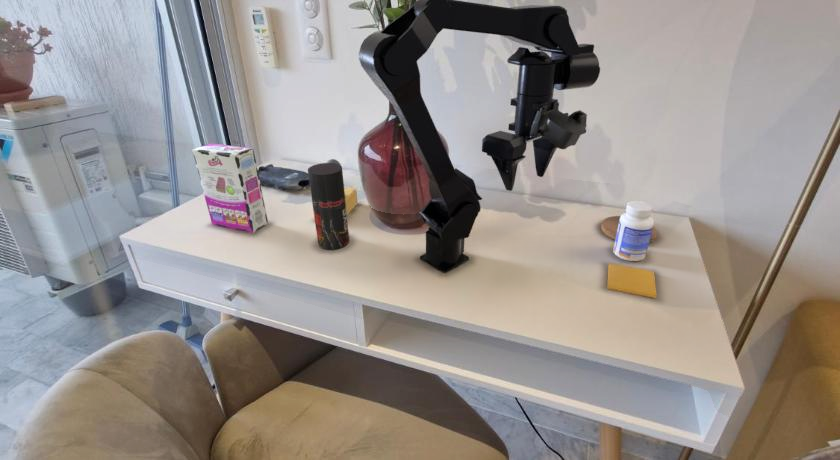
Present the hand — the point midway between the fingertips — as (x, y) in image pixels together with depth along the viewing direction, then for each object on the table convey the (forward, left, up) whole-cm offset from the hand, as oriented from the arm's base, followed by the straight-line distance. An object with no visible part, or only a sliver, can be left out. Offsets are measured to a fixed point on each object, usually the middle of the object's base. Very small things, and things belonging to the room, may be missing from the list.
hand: (525, 183), depth 78 cm
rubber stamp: (-18, +35, -12) cm, 41 cm away
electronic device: (-19, +58, -12) cm, 62 cm away
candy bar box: (-36, +44, -12) cm, 58 cm away
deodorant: (-26, +24, -12) cm, 37 cm away
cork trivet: (+19, -12, -12) cm, 26 cm away
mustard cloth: (+3, -20, -12) cm, 24 cm away
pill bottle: (+11, -16, -12) cm, 23 cm away
